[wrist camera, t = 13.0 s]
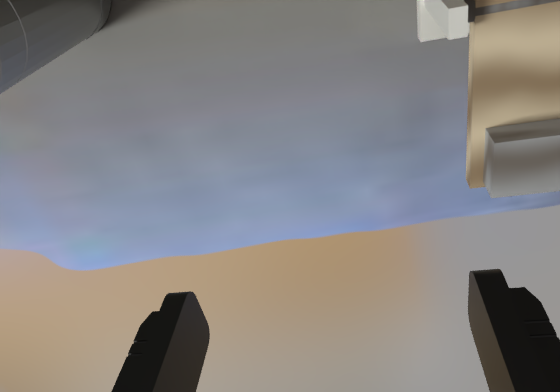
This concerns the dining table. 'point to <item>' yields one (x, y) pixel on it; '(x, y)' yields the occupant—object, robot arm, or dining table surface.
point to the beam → (514, 96)
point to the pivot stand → (442, 19)
